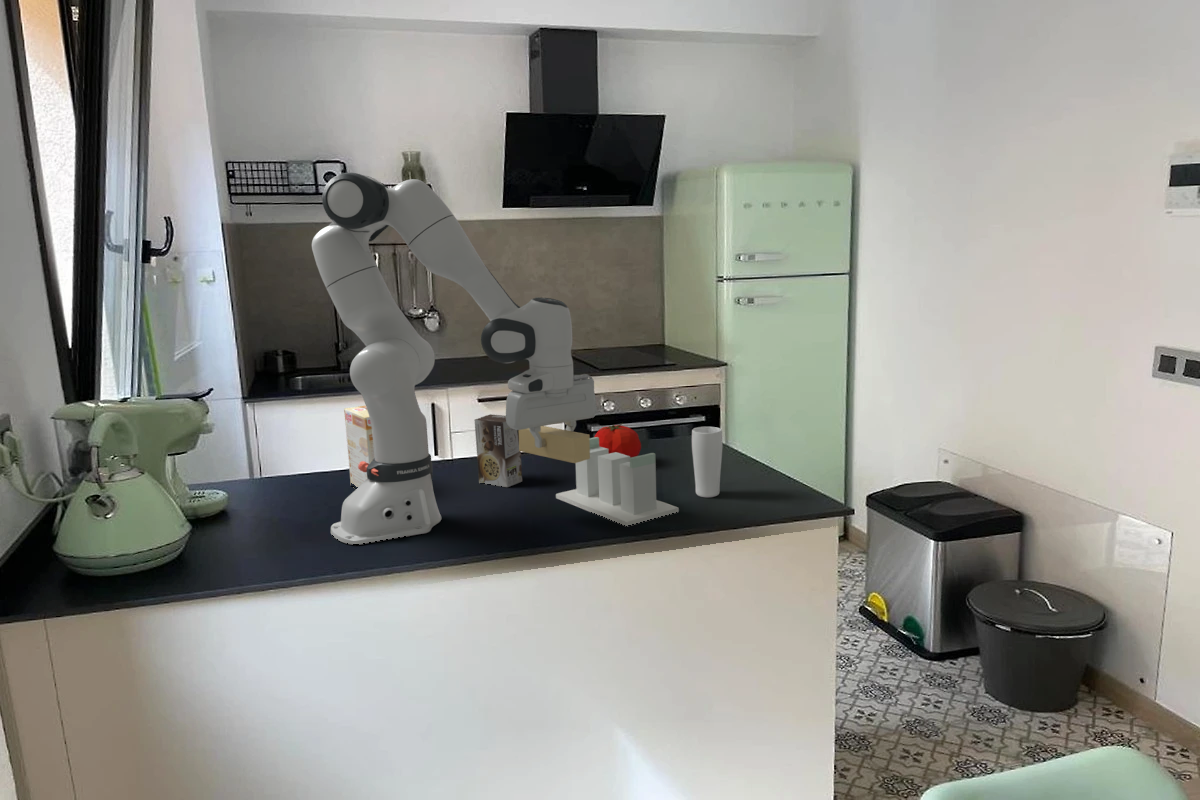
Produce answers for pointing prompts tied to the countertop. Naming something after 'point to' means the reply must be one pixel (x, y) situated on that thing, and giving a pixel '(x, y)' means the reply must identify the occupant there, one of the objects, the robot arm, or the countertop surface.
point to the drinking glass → (707, 460)
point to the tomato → (619, 440)
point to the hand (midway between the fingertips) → (553, 444)
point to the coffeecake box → (358, 441)
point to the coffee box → (497, 451)
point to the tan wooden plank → (557, 444)
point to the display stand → (617, 487)
